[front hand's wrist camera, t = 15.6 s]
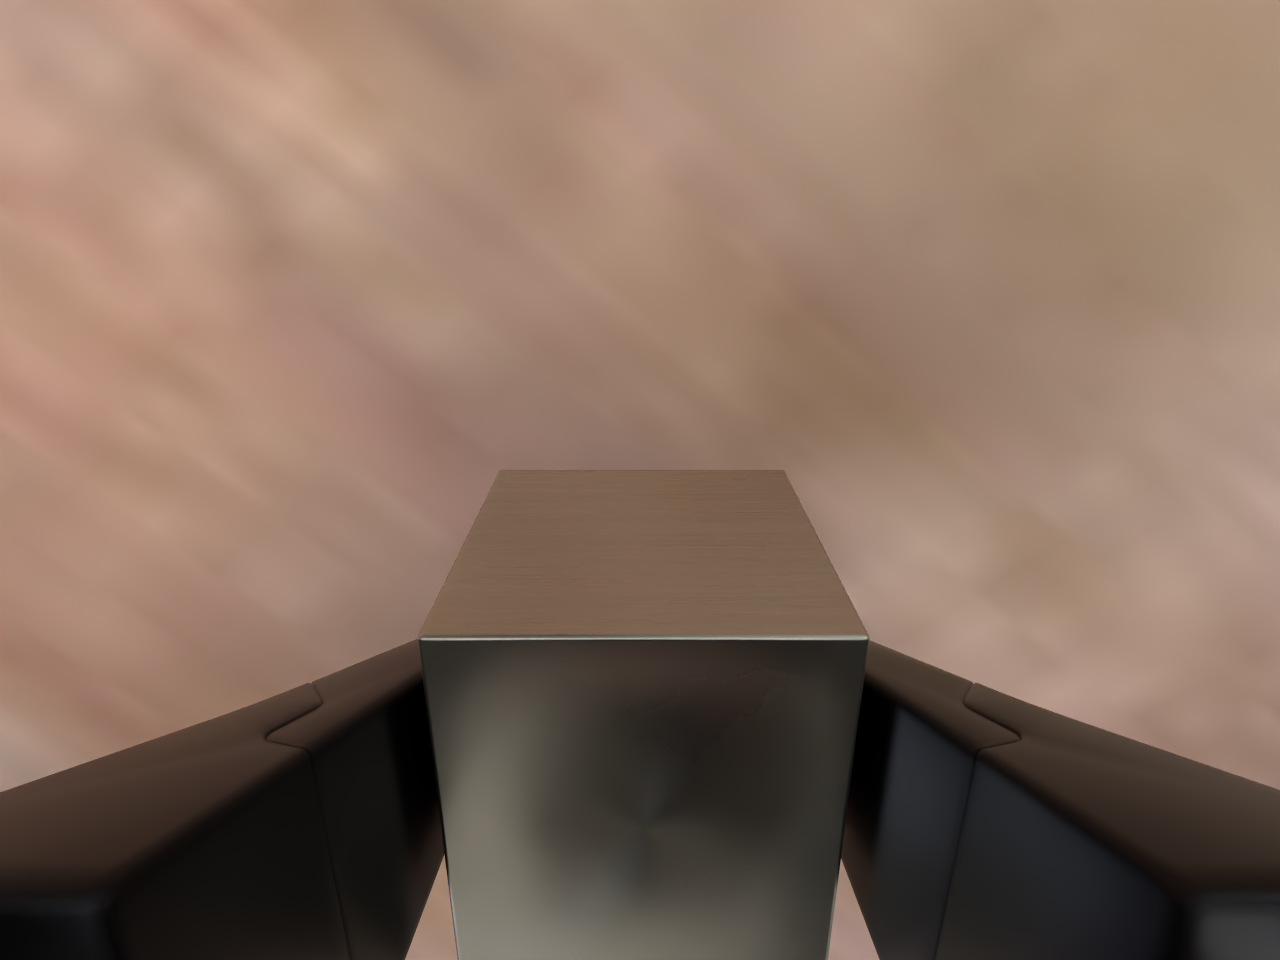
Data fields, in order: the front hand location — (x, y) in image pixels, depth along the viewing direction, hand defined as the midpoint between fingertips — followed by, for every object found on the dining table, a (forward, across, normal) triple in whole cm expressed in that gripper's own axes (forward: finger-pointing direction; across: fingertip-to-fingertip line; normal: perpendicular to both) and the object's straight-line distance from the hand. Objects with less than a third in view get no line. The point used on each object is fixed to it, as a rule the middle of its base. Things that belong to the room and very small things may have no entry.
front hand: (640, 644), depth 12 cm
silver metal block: (+1, 0, 0) cm, 1 cm away
